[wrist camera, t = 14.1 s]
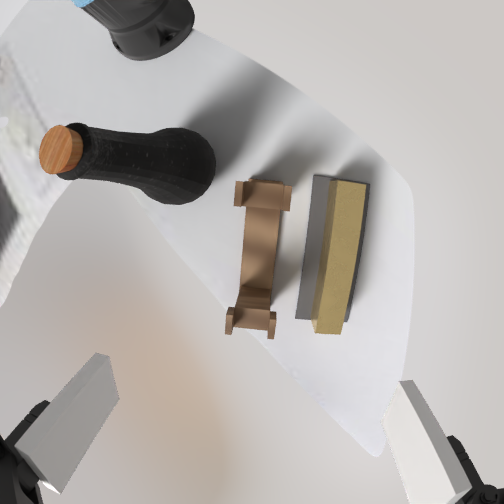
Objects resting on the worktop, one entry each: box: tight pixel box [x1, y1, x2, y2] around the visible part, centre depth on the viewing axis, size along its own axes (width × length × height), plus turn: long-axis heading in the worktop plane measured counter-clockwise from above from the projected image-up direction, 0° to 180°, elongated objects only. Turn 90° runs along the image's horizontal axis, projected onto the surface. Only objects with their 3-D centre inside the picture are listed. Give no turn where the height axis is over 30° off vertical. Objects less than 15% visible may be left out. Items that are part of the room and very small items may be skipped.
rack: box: [225, 179, 292, 339], centre depth 39 cm, size 20×6×11 cm, turn 175°
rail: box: [311, 180, 366, 334], centre depth 41 cm, size 22×4×6 cm, turn 175°
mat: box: [295, 175, 370, 322], centre depth 44 cm, size 23×9×1 cm, turn 175°
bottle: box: [39, 123, 216, 205], centre depth 28 cm, size 11×11×30 cm
